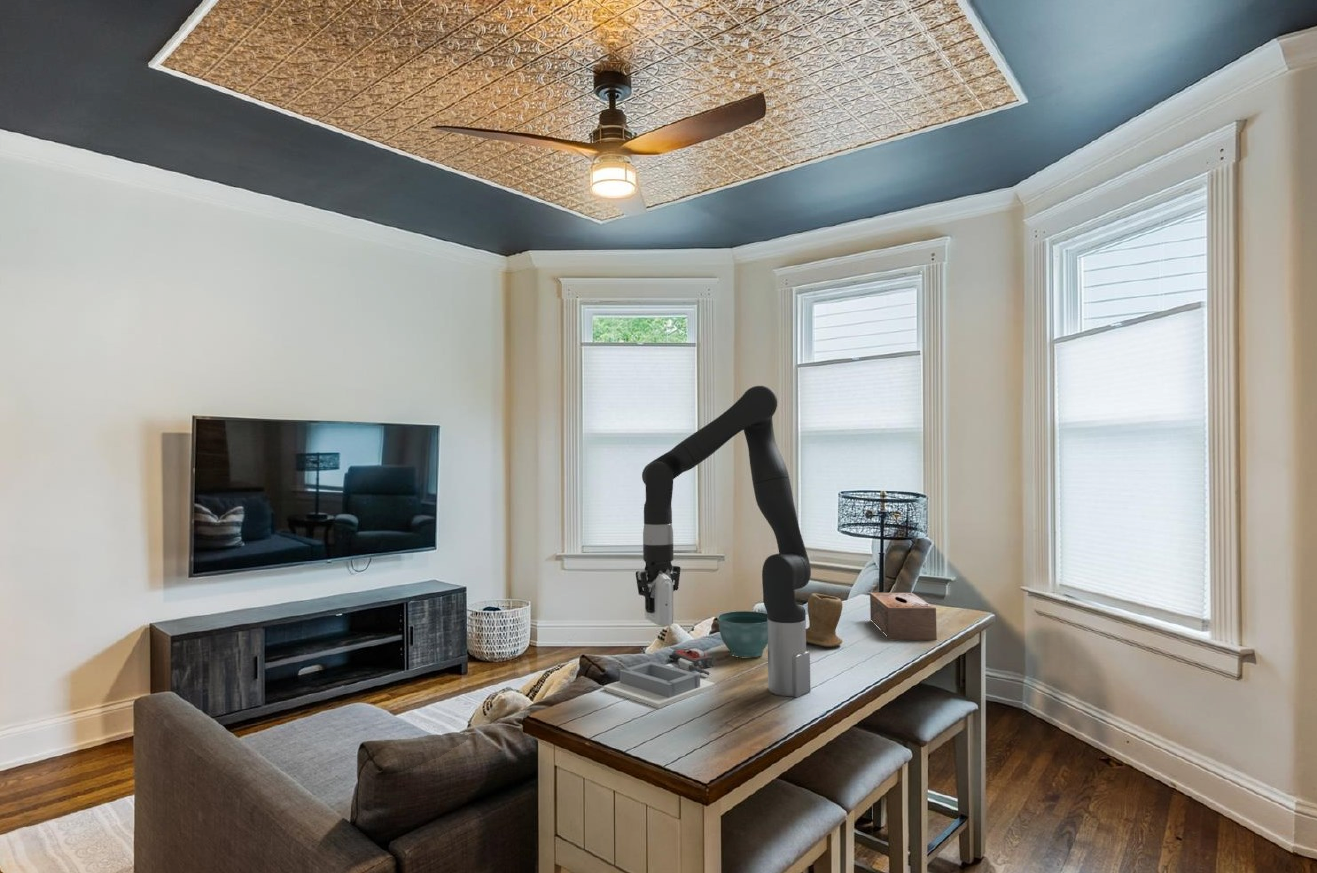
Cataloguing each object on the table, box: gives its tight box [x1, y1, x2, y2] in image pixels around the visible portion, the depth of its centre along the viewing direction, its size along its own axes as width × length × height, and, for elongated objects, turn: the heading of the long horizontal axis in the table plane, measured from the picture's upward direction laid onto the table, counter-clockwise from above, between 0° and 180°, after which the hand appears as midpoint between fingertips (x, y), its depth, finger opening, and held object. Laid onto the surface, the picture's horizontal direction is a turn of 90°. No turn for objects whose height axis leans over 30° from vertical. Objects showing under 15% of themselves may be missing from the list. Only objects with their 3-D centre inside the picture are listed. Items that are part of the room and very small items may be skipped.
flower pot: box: [716, 610, 768, 659], centre depth 202 cm, size 16×16×11 cm
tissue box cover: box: [869, 592, 938, 641], centre depth 229 cm, size 26×14×10 cm, turn 175°
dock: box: [602, 660, 716, 709], centre depth 172 cm, size 19×20×4 cm
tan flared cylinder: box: [806, 592, 843, 647], centre depth 213 cm, size 15×12×15 cm
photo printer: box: [644, 573, 674, 627], centre depth 172 cm, size 10×4×12 cm, turn 25°
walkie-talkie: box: [668, 647, 714, 676], centre depth 190 cm, size 9×4×20 cm
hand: (659, 610), depth 172 cm, fingers closed on photo printer, 5 cm apart
